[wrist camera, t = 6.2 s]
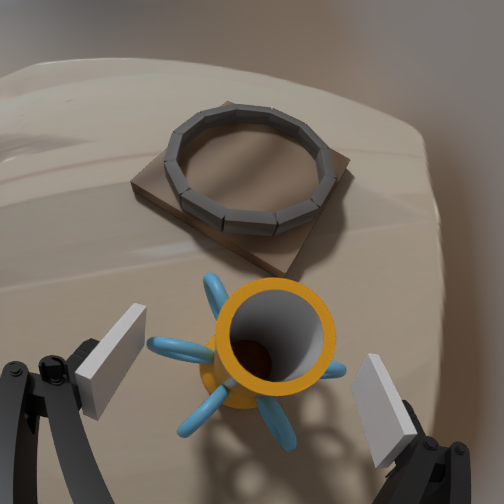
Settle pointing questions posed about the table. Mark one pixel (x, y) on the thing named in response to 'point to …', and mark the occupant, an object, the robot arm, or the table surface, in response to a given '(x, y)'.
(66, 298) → the table surface
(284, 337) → the cylinder
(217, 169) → the hub board
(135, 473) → the table surface
